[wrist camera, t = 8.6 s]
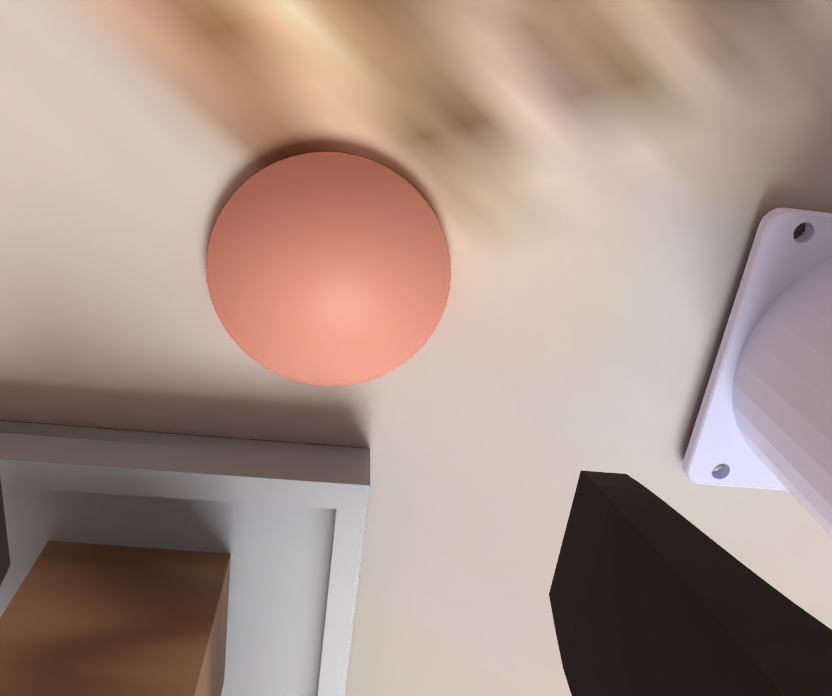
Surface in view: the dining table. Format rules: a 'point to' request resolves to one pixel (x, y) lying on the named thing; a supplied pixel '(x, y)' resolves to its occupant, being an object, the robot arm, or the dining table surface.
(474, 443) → the dining table surface
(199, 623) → the walnut block
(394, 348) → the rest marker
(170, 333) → the dining table surface
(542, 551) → the dining table surface
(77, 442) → the slate tray
